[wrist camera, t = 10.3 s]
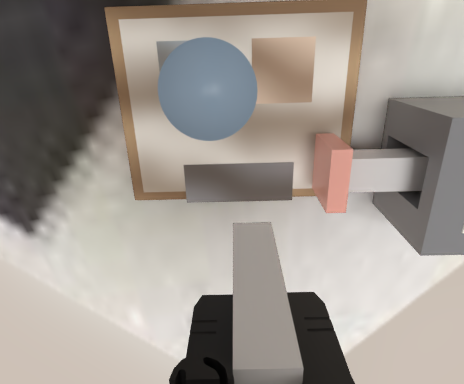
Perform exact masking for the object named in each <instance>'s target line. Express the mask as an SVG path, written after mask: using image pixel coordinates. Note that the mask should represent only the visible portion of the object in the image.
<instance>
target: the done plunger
mask: <svg viewBox="0 0 464 384" xmlns="http://www.w3.org/2000/svg"><path fill="white" fill-rule="evenodd" d="M428 161H429V157H427V156H425V155H424V154H422V153H420V152H418V151H416V150H414V149H413V148H401V149H362V150H353V149H352V148H351V147H350V146H349V145H347V144H346V143H345V142H344V141H343V140H341V139H340V138H339V137H338V136H337V135H335V134H334V133H323V134H316V140H315V154H314V168H313V181H312V189H313V191H314V193H315V194H316V196H317V198H318V200H319V201H320V203H321V205H322V207H323V208H324V210H325V212H326V213H346V207H347V198H348V193H351V192H393V191H422V188H423V184H424V179H425V174H426V170H427V165H428Z"/></svg>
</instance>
